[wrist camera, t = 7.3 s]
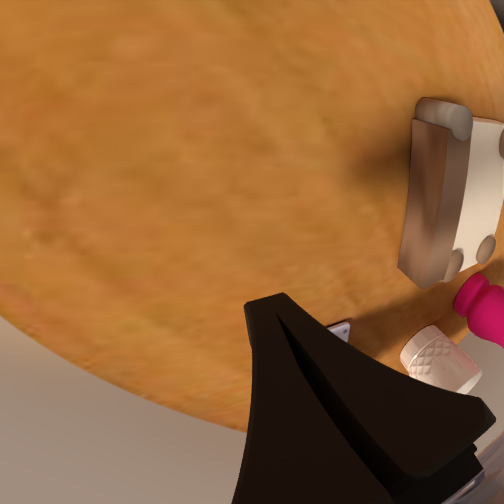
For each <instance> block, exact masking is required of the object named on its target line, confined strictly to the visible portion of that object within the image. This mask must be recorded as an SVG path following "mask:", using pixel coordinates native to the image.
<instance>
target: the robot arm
mask: <svg viewBox="0 0 504 504" xmlns="http://www.w3.org/2000/svg"><path fill="white" fill-rule="evenodd" d="M244 312H245V318H246V324H247V329H248V335H249V341H250V345H251V348H252V393H251V406H250V415H249V423H248V431H247V437H246V444H245V449H244V454H243V459H242V464H241V468H240V473H239V478H238V482H237V486H236V489H235V493H234V496H233V500H232V503H231V504H445V503H446V502H447V503H446V504H504V431H503V432H502V433H501V434H500V435H499V436H498V437H497V438H496V439H495V440H494V441H492V442H491V443H490V444H489V446H488V447H486V448H485V449H484V450H483V451H482V452H481V453H480V454H478V455H477V456H475V454H474V453H475V452H476V451H477V447H476V446H475V445H474V443H473V442H474V441H476V440H477V439H478V438H479V437H480V436H481V435H482V434H483V433H485V432H486V431H487V430H488V429H489V428H490V427H491V426H492V425H493V424H494V423H495V422H496V417H495V416H494V415H493V413H492V412H491V411H490V409H489V408H488V407H487V405H486V404H485V403H484V402H483V401H482V399H481V398H479V397H475V396H470V395H466V394H461V393H457V392H453V391H449V390H445V389H442V388H439V387H436V386H433V385H430V384H427V383H425V382H422V381H420V380H417V379H415V378H412V377H410V376H407V375H405V374H402V373H400V372H398V371H396V370H394V369H392V368H390V367H388V366H386V365H384V364H382V363H380V362H378V361H376V360H374V359H373V358H371V357H369V356H367V355H366V354H364V353H362V352H361V351H359V350H358V349H356V348H354V347H353V346H351V345H350V344H348V343H347V341H348V336H349V330H350V324H349V323H348V322H343V323H340V324H337V325H334V326H332V327H329V328H326V327H325V326H323V325H322V324H321V323H319V322H318V321H317V320H316V319H314V318H313V317H312V316H311V315H309V314H308V313H307V312H306V311H305V310H303V309H302V308H301V307H300V306H299V305H298V304H297V303H295V302H294V301H293V300H292V299H291V298H290V297H289V296H288V295H287V294H285V293H279V294H275V295H272V296H268V297H264V298H261V299H257V300H253V301H250V302H246V304H245V305H244ZM474 480H475V483H474V484H473V485H471V486H469V487H468V488H466V489H465V490H463V489H464V488H465V487H466V486H468V485H469V484H470V483H471V482H472V481H474ZM462 490H463V491H462ZM459 492H460V493H459Z"/></svg>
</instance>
